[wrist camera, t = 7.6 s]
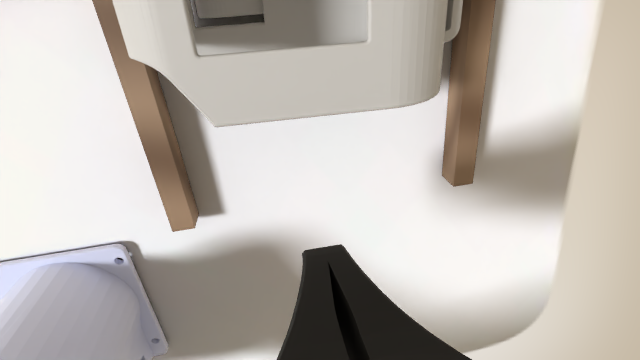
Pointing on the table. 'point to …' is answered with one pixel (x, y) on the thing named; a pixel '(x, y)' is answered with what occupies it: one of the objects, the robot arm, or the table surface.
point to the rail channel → (164, 147)
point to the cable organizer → (293, 54)
